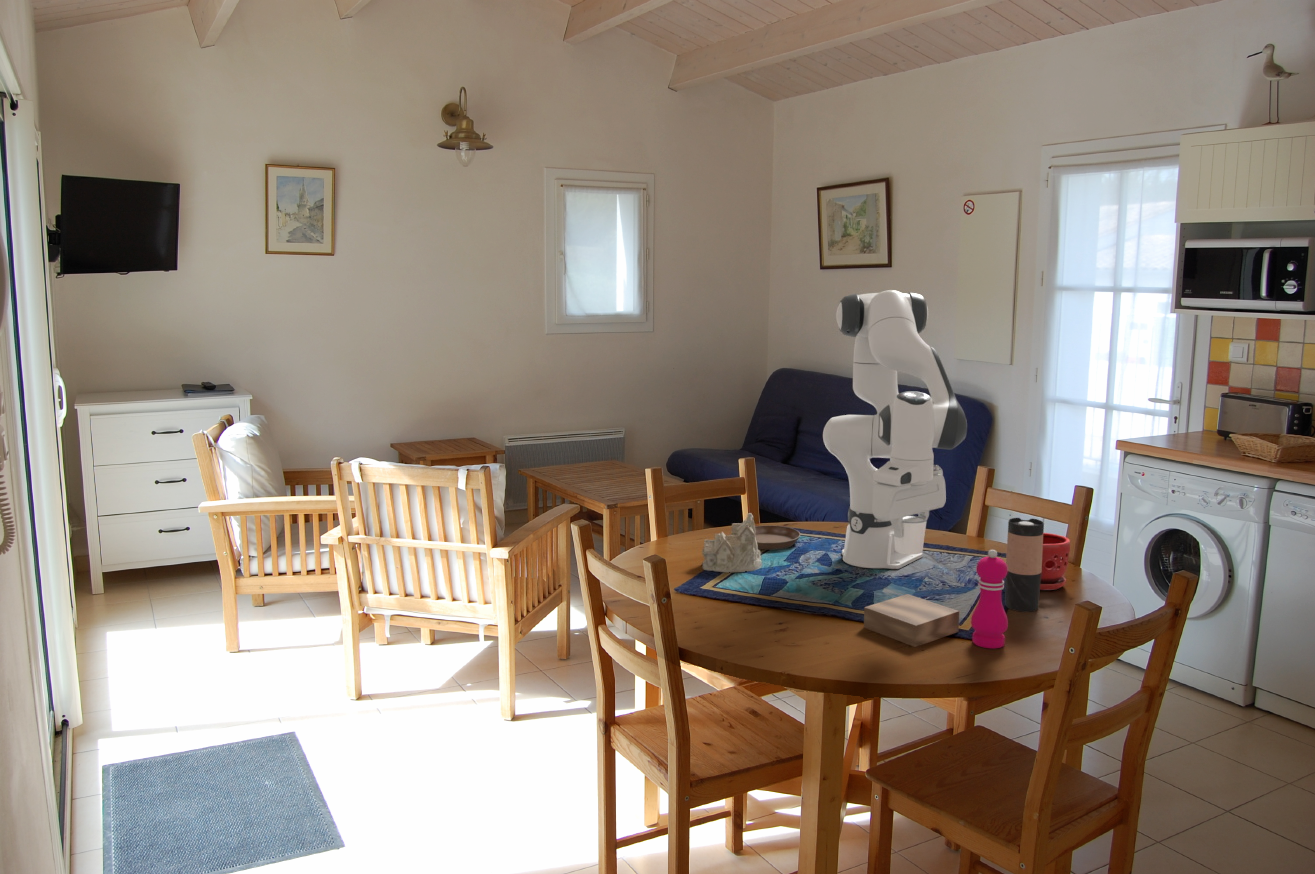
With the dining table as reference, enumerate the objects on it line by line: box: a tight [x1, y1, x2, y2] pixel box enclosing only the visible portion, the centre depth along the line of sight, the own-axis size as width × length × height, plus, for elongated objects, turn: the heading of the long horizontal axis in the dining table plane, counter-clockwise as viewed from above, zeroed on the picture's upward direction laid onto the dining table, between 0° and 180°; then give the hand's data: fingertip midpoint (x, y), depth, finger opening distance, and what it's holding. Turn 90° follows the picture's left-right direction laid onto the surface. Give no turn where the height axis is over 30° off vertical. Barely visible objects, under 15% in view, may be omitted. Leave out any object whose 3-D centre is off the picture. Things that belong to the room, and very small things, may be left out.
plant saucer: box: [755, 524, 801, 551], centre depth 277 cm, size 18×18×3 cm
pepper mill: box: [970, 549, 1009, 649], centre depth 200 cm, size 7×7×20 cm
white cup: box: [894, 515, 928, 554], centre depth 207 cm, size 7×7×7 cm
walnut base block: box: [863, 593, 960, 648], centre depth 210 cm, size 14×14×5 cm
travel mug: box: [1004, 517, 1045, 613], centre depth 222 cm, size 8×8×20 cm
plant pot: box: [1040, 532, 1071, 591], centre depth 237 cm, size 13×13×12 cm
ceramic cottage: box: [702, 512, 763, 573], centre depth 257 cm, size 16×16×15 cm
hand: (909, 534), depth 207 cm, fingers closed on white cup, 5 cm apart
